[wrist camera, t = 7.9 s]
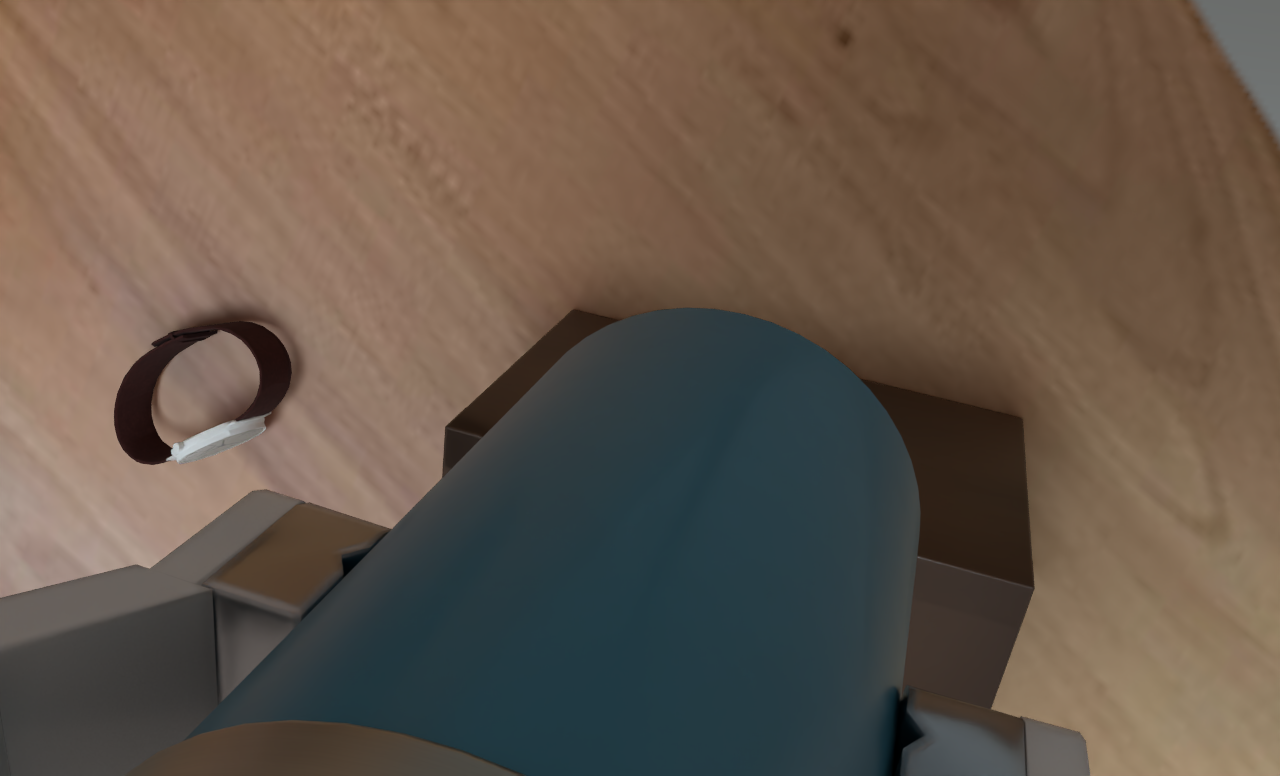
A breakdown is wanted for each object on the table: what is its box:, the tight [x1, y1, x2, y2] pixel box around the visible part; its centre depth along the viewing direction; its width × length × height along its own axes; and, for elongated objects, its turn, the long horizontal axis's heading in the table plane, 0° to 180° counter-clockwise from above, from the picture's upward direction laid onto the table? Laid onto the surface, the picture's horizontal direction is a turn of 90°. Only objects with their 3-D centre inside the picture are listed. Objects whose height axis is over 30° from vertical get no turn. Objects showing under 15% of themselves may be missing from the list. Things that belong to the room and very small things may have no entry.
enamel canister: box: [125, 308, 921, 776], centre depth 9 cm, size 5×5×8 cm
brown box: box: [442, 310, 1035, 709], centre depth 31 cm, size 14×12×9 cm
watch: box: [114, 321, 292, 465], centre depth 37 cm, size 8×5×4 cm, turn 122°
